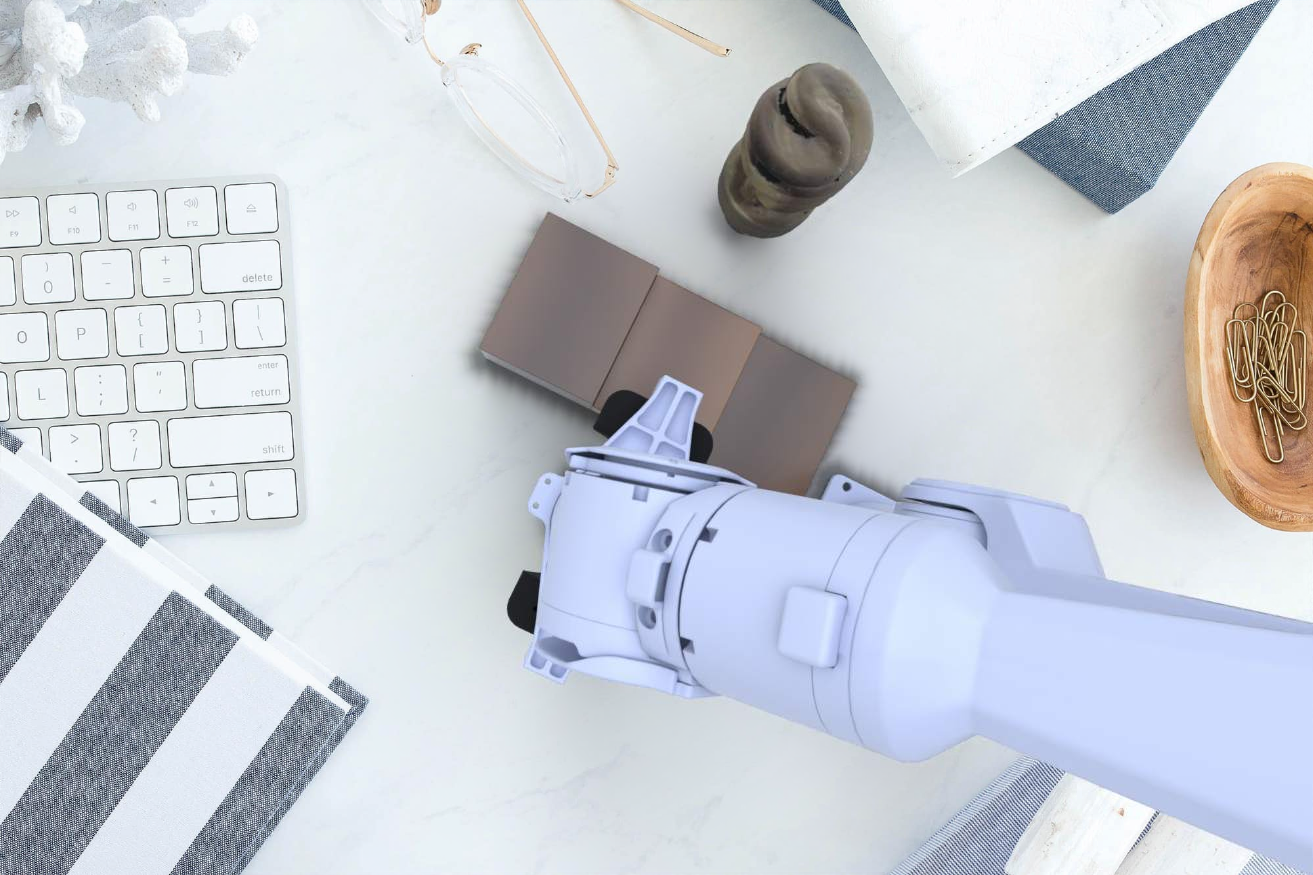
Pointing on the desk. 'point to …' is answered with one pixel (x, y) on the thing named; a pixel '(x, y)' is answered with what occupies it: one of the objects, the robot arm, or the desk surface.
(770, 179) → the brown carved figurine
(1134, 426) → the desk surface
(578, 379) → the steps
